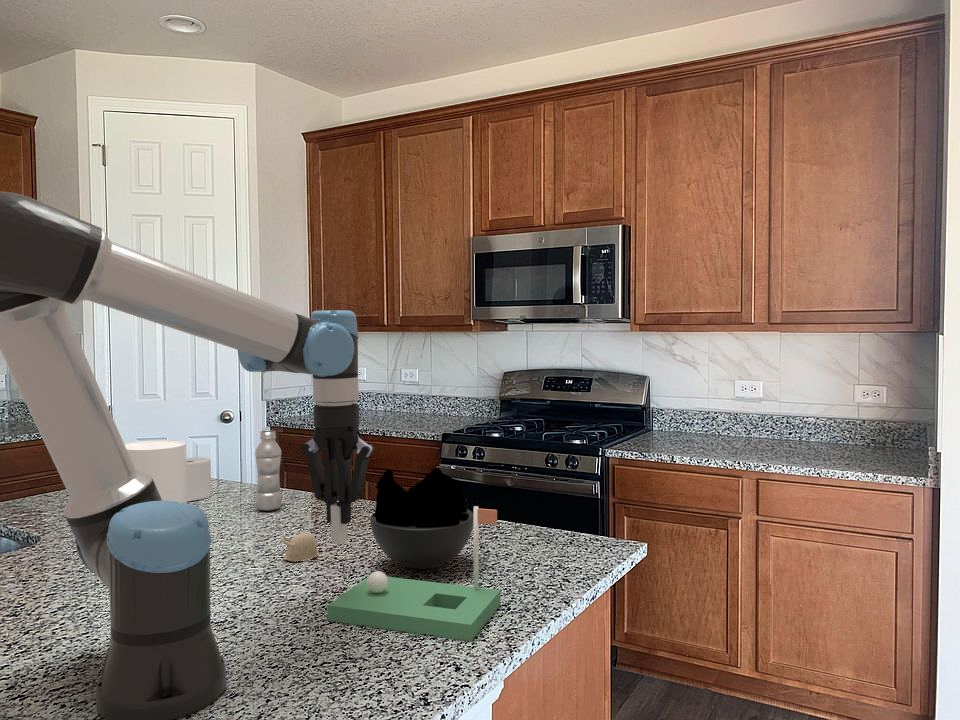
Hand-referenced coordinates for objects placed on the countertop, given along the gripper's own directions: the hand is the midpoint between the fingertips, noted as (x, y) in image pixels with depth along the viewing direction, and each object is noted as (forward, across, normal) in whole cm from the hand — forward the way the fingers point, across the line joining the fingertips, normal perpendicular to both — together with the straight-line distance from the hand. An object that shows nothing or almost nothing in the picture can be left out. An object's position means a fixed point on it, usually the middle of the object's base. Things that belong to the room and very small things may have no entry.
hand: (339, 541), depth 124 cm
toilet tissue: (+11, +76, -54) cm, 94 cm away
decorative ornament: (+11, +19, -17) cm, 28 cm away
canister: (+10, +60, -23) cm, 65 cm away
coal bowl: (+11, -6, -21) cm, 24 cm away
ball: (+6, -7, 0) cm, 9 cm away
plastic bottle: (+11, +48, -49) cm, 69 cm away
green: (+10, -14, 0) cm, 18 cm away
